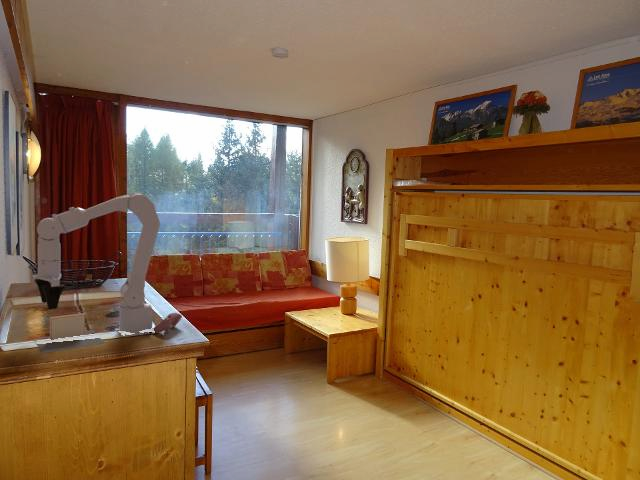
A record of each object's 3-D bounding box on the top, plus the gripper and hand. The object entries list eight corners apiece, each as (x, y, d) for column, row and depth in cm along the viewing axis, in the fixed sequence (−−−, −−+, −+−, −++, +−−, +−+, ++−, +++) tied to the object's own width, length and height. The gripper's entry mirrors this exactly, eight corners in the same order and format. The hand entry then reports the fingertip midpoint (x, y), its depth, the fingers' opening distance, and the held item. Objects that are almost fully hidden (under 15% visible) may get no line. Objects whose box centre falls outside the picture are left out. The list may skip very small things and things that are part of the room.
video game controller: (162, 339, 148) (172, 322, 146) (150, 331, 148) (160, 314, 147) (177, 330, 157) (186, 313, 156) (166, 323, 158) (175, 306, 156)
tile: (83, 335, 140) (83, 313, 139) (84, 337, 139) (85, 314, 138) (49, 340, 134) (49, 317, 134) (50, 342, 133) (51, 318, 132)
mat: (92, 331, 146) (92, 330, 146) (105, 344, 136) (105, 343, 136) (33, 340, 135) (33, 338, 135) (42, 355, 125) (42, 353, 125)
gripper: (28, 256, 137) (28, 301, 138) (38, 265, 126) (39, 313, 128) (54, 254, 141) (55, 298, 143) (67, 263, 131) (67, 310, 133)
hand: (49, 305), depth 136 cm, fingers open, 7 cm apart
